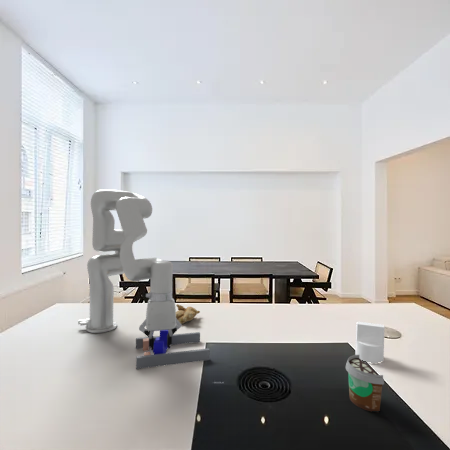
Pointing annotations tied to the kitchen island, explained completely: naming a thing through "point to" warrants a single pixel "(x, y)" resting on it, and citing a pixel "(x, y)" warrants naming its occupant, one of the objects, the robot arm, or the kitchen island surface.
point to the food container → (364, 384)
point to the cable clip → (161, 343)
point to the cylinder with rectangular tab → (370, 342)
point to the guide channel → (172, 357)
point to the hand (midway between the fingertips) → (160, 346)
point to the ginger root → (185, 314)
